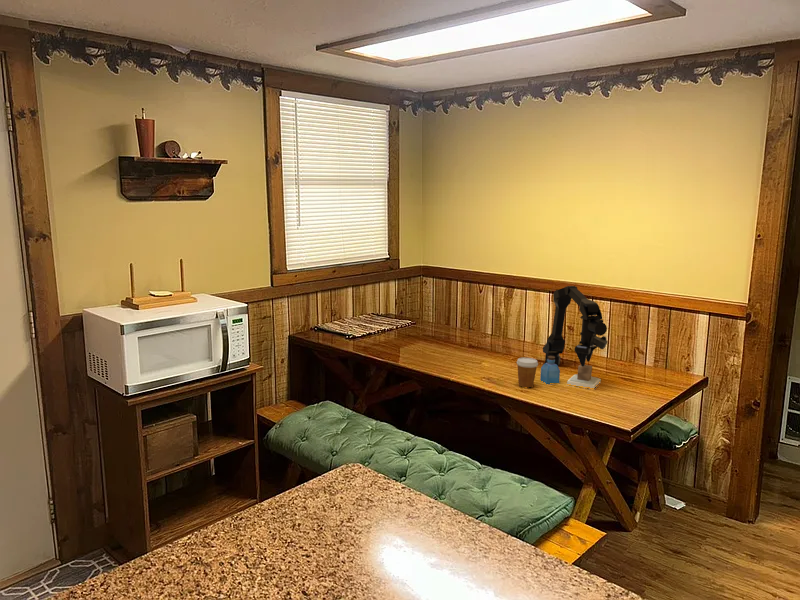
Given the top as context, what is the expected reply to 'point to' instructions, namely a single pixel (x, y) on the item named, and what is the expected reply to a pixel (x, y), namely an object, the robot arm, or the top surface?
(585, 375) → the block
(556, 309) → the robot arm
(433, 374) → the top surface
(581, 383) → the base
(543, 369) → the perfume bottle
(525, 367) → the disposable coffee cup
